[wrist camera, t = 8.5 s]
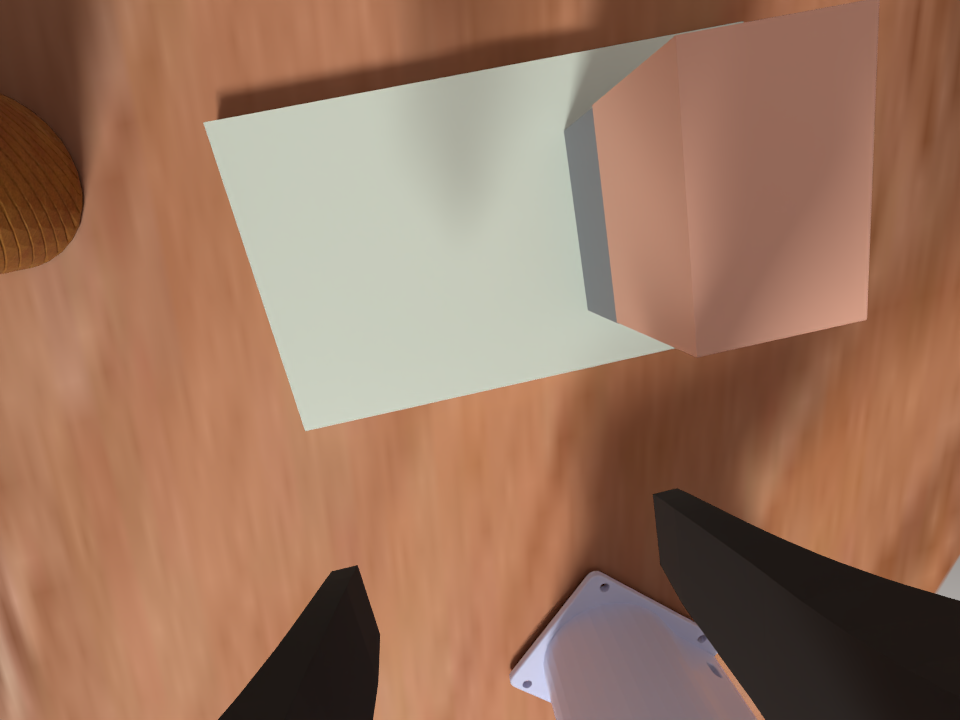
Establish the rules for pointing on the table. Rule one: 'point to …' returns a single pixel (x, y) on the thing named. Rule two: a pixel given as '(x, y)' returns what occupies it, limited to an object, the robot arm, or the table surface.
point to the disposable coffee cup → (34, 190)
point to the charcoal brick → (590, 215)
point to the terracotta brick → (743, 180)
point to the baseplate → (424, 234)
